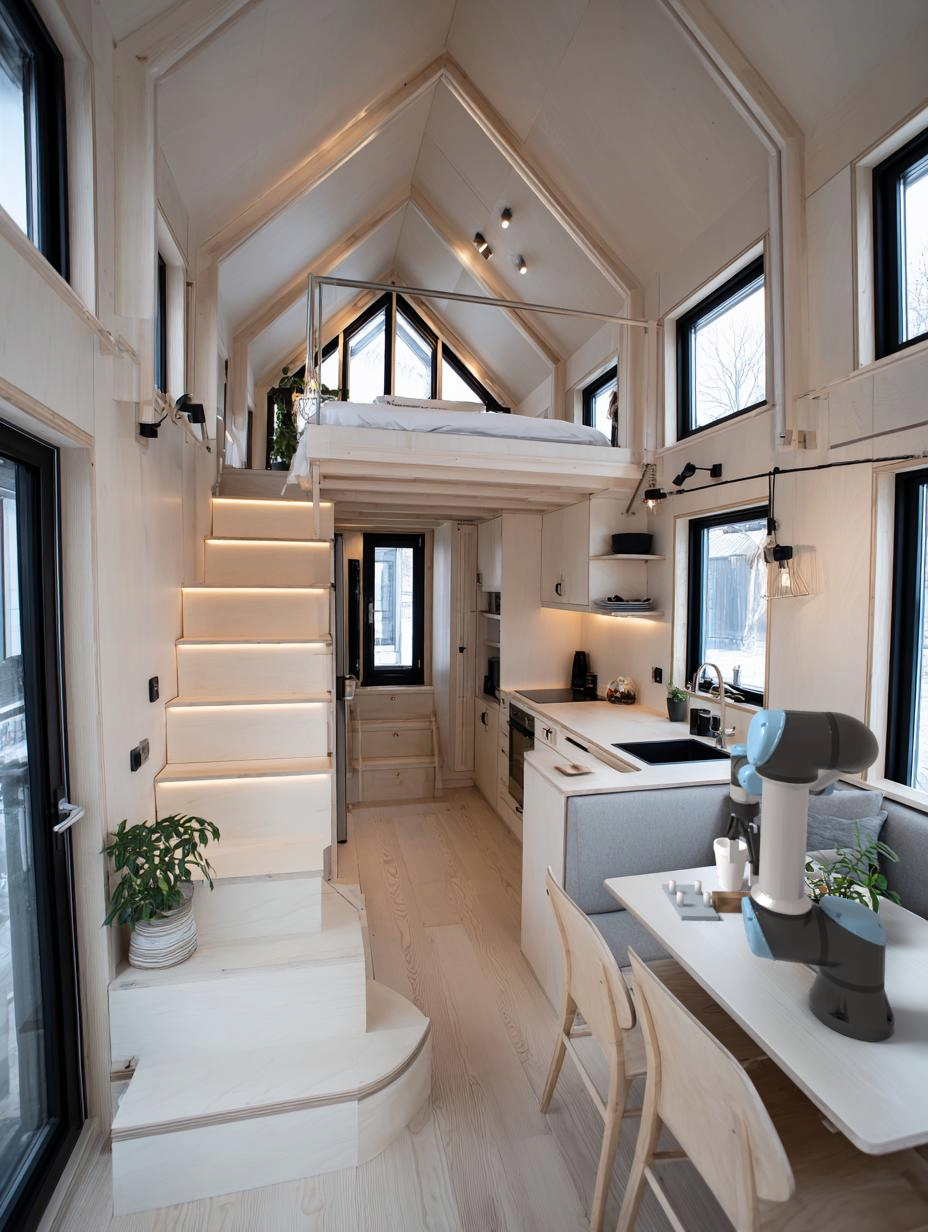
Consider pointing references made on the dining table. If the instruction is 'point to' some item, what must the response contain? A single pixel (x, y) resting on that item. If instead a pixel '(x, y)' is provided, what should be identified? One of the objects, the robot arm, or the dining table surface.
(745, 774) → the robot arm
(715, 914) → the rack
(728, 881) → the foam cup
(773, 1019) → the dining table surface
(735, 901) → the wooden toy mallet
